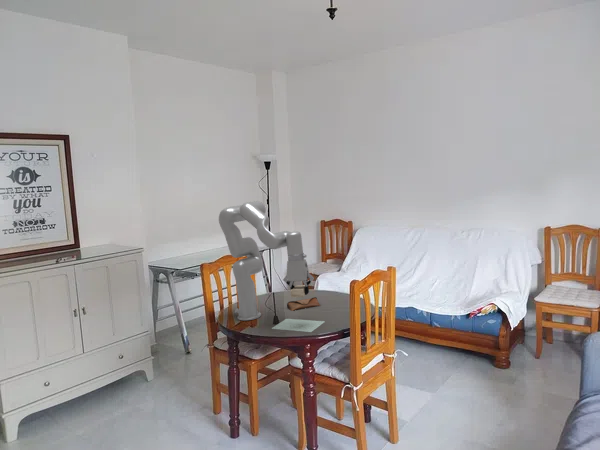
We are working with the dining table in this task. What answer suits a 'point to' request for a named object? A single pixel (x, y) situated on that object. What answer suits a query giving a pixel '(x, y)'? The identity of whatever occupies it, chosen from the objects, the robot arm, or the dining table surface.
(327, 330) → the dining table surface
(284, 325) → the mat
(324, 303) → the dining table surface
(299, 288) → the card box
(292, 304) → the sunglasses case
